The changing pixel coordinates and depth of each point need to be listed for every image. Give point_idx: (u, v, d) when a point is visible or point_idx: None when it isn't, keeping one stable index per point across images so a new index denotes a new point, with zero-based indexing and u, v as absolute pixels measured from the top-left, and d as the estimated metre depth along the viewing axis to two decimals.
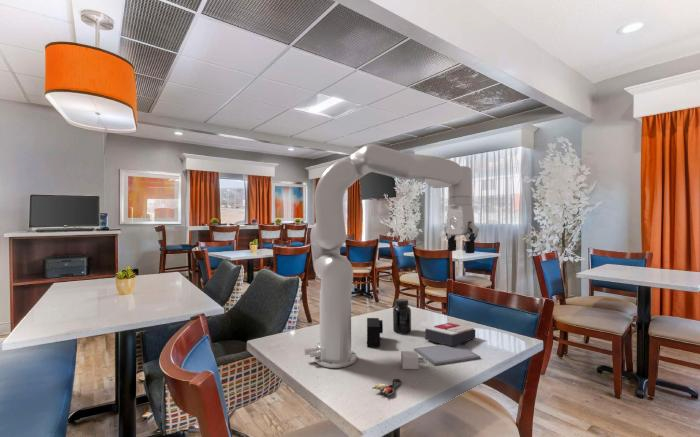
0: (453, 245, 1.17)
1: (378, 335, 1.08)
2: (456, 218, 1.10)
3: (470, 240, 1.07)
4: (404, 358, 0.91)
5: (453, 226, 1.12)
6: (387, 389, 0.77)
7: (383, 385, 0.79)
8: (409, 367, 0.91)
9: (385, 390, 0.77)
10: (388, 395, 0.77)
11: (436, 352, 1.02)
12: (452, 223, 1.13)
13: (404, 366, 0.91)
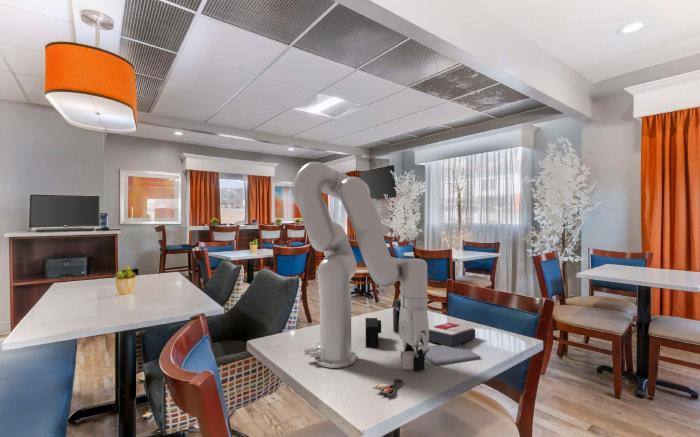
0: None
1: (377, 335, 1.08)
2: (408, 324, 0.91)
3: (419, 356, 0.89)
4: (404, 358, 0.91)
5: (405, 332, 0.92)
6: (388, 389, 0.77)
7: (384, 385, 0.78)
8: (409, 367, 0.91)
9: (386, 390, 0.77)
10: (389, 395, 0.77)
11: (436, 352, 1.02)
12: (404, 327, 0.93)
13: (404, 366, 0.91)
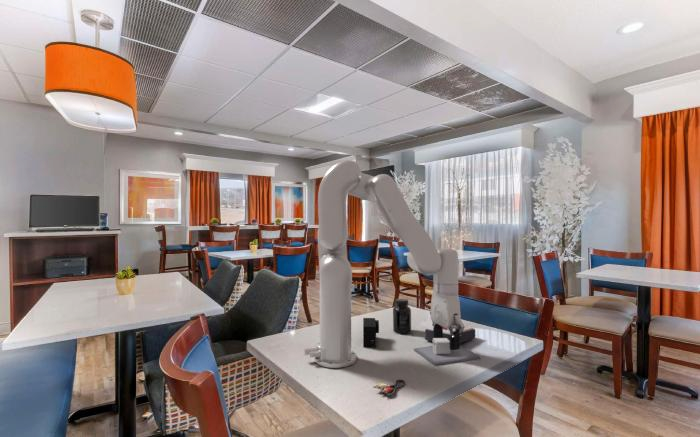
0: (439, 333, 1.06)
1: (374, 335, 1.08)
2: (441, 308, 1.00)
3: (455, 336, 0.97)
4: (437, 344, 1.00)
5: (438, 315, 1.02)
6: (387, 389, 0.77)
7: (384, 385, 0.79)
8: (442, 352, 1.00)
9: (385, 390, 0.77)
10: (388, 395, 0.77)
11: None
12: (437, 311, 1.02)
13: (437, 351, 1.00)
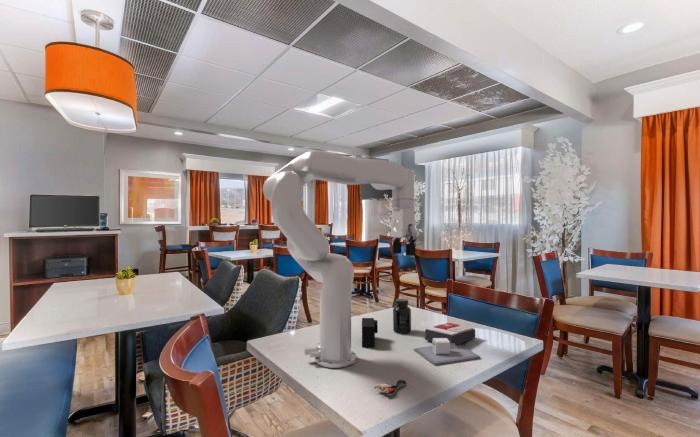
0: (398, 247, 1.17)
1: (373, 335, 1.08)
2: (398, 221, 1.10)
3: (410, 243, 1.07)
4: (437, 344, 1.00)
5: (395, 229, 1.12)
6: (388, 389, 0.77)
7: (385, 385, 0.79)
8: (441, 352, 1.00)
9: (386, 390, 0.77)
10: (388, 395, 0.77)
11: None
12: (395, 226, 1.12)
13: (437, 351, 1.00)
